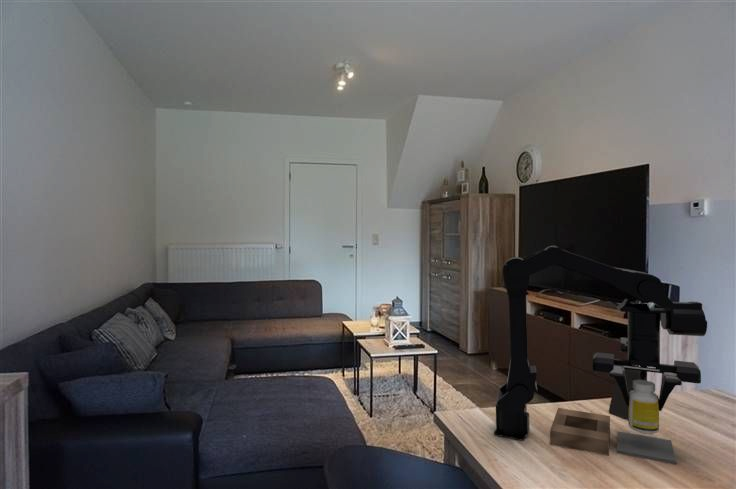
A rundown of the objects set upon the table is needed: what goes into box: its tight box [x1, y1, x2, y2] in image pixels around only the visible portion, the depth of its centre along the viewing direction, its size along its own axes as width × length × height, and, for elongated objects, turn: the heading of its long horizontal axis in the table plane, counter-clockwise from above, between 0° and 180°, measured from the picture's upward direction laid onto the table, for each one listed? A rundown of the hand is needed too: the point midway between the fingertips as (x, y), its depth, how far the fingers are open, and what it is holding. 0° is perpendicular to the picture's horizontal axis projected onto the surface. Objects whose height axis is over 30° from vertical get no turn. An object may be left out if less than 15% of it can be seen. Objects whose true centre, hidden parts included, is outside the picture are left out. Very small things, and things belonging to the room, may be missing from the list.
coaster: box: [616, 430, 677, 465], centre depth 94 cm, size 10×10×1 cm
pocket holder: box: [549, 407, 611, 456], centre depth 100 cm, size 11×14×3 cm
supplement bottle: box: [628, 380, 660, 435], centre depth 94 cm, size 5×5×10 cm
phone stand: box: [608, 369, 648, 421], centre depth 111 cm, size 9×6×12 cm, turn 115°
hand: (643, 407), depth 94 cm, fingers closed on supplement bottle, 5 cm apart
